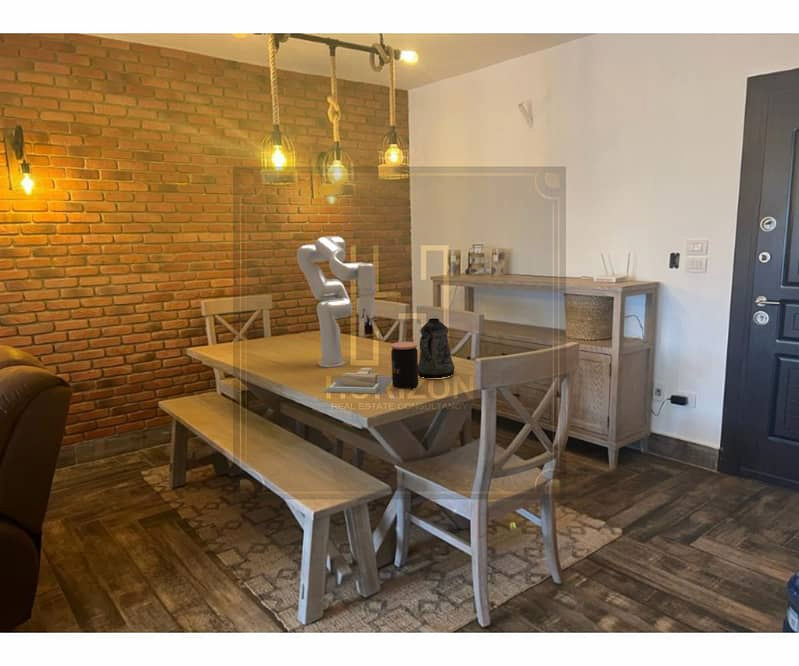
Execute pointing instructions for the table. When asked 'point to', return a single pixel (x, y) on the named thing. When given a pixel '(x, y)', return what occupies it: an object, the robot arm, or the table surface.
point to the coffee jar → (404, 365)
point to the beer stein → (435, 351)
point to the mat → (359, 387)
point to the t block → (361, 378)
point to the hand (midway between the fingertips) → (368, 333)
